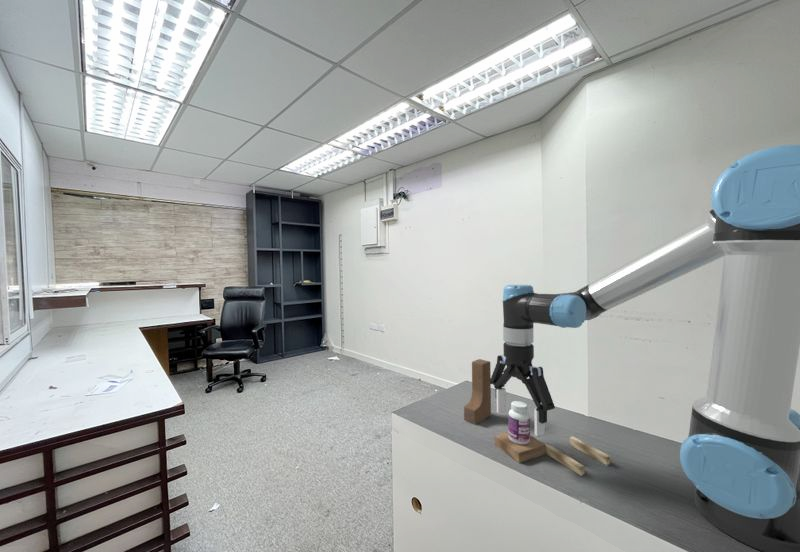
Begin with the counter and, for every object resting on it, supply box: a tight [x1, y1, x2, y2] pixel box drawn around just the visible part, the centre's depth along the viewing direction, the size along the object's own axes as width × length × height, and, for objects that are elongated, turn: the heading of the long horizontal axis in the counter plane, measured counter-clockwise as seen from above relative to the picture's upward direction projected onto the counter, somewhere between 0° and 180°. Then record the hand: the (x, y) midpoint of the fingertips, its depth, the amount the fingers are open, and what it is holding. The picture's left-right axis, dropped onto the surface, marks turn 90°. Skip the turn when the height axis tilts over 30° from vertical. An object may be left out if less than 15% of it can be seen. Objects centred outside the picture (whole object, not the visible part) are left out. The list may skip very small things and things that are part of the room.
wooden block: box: [463, 358, 492, 425], centre depth 99 cm, size 9×4×18 cm, turn 131°
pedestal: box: [493, 431, 547, 464], centre depth 82 cm, size 9×9×2 cm
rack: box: [545, 436, 611, 476], centre depth 77 cm, size 10×10×2 cm
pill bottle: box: [508, 400, 531, 445], centre depth 82 cm, size 5×5×10 cm
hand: (519, 422), depth 82 cm, fingers open, 13 cm apart
